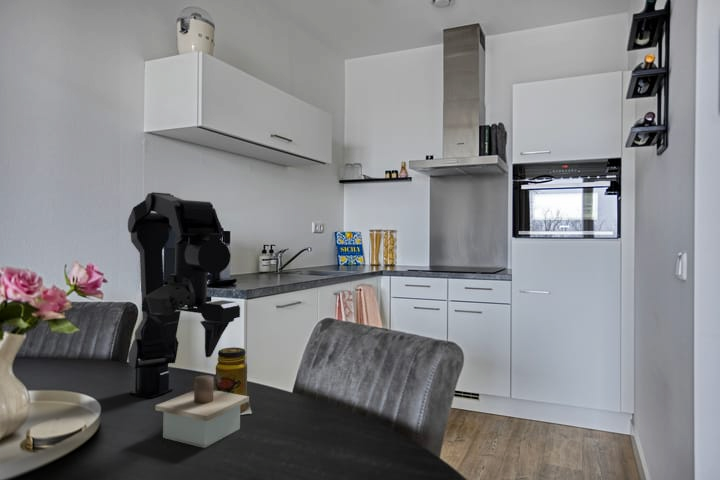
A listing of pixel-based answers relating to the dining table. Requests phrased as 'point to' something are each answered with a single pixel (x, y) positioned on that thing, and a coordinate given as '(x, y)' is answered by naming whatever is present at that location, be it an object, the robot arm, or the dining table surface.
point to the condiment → (233, 374)
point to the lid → (202, 401)
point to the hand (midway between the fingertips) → (188, 353)
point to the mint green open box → (200, 428)
